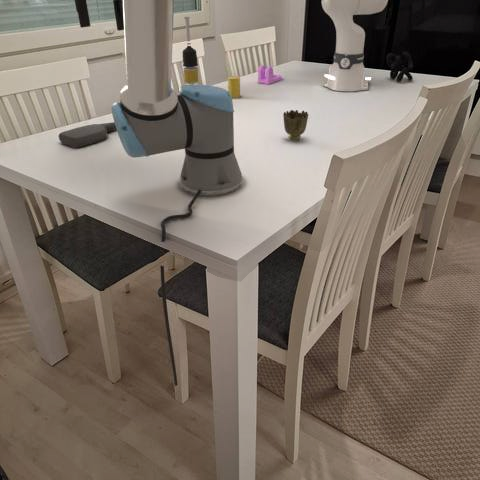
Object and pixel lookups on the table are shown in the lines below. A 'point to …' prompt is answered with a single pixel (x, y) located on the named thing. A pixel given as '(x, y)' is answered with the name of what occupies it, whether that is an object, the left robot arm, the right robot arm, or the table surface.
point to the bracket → (267, 75)
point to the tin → (234, 86)
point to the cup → (295, 123)
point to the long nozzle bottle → (190, 60)
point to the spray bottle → (86, 134)
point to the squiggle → (399, 66)
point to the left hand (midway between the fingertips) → (103, 28)
